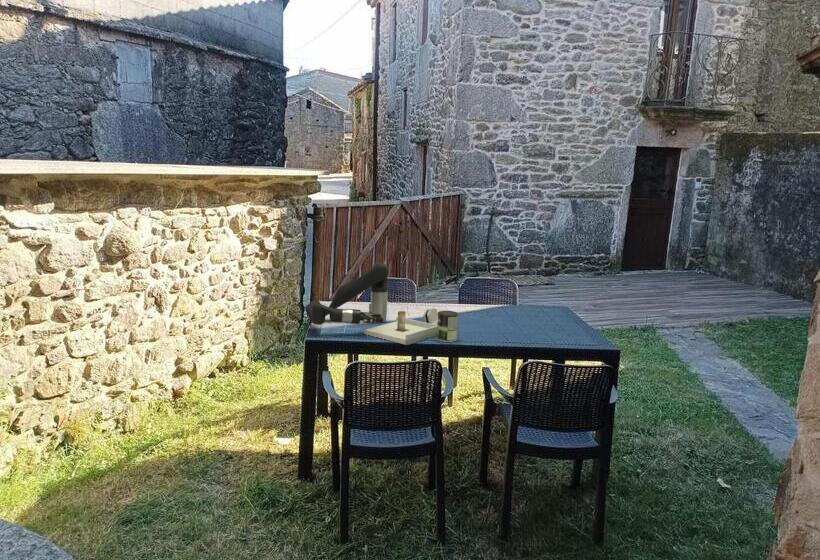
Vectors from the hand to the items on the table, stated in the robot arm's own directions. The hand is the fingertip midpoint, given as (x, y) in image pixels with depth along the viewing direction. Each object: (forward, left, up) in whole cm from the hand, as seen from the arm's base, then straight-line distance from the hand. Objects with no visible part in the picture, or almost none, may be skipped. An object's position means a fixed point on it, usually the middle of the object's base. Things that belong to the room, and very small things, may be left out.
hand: (381, 318), depth 328 cm
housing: (+8, +8, -9) cm, 14 cm away
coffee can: (+30, +17, -9) cm, 35 cm away
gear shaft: (+7, +8, -9) cm, 13 cm away
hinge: (+6, +38, -9) cm, 39 cm away
